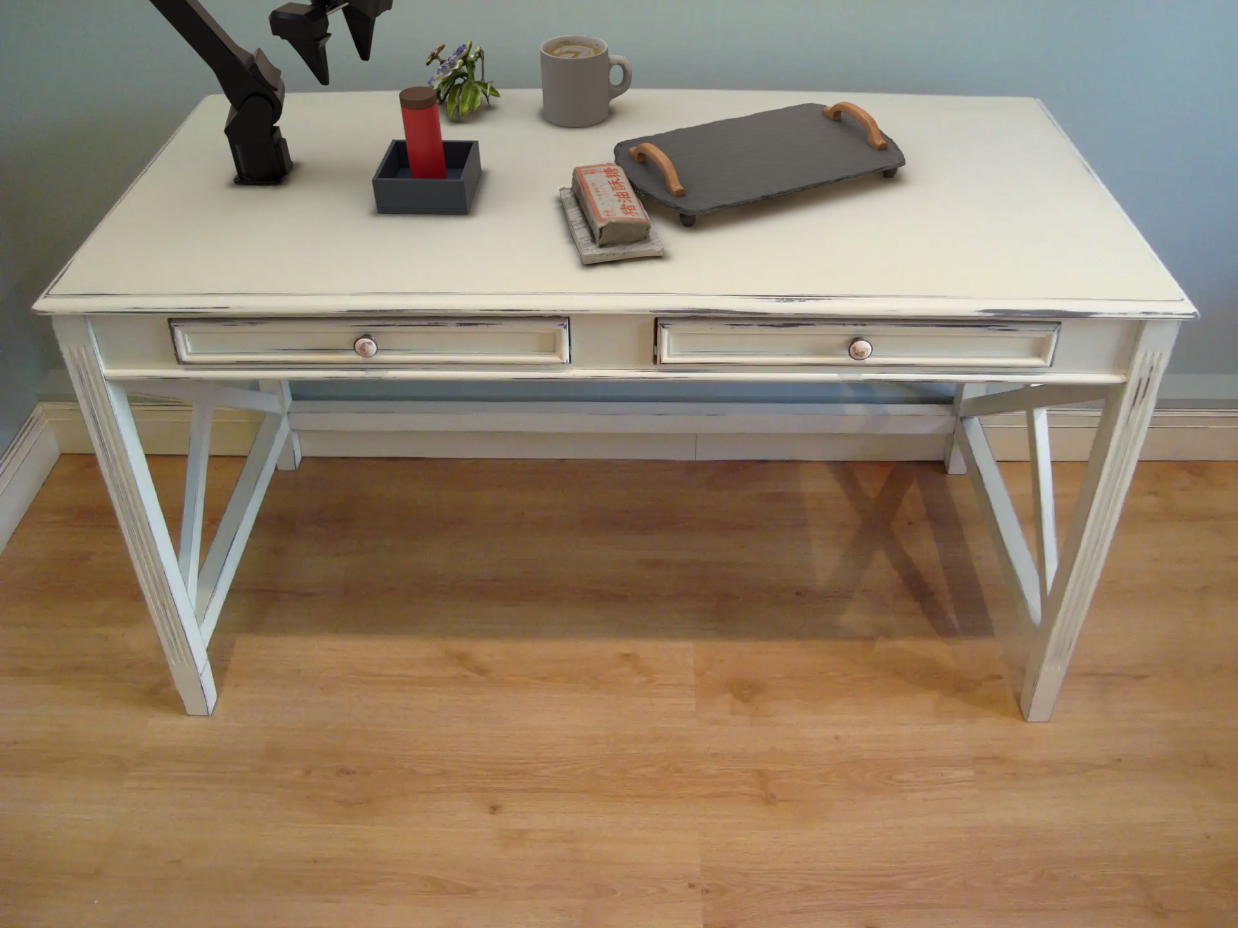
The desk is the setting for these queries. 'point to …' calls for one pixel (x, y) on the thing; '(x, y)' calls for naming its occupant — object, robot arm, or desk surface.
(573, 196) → the packaged product
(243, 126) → the robot arm
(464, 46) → the passion flower
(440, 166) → the candy tube
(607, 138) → the desk surface
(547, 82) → the coffee mug
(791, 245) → the desk surface
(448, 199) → the desk bin
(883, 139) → the serving tray
